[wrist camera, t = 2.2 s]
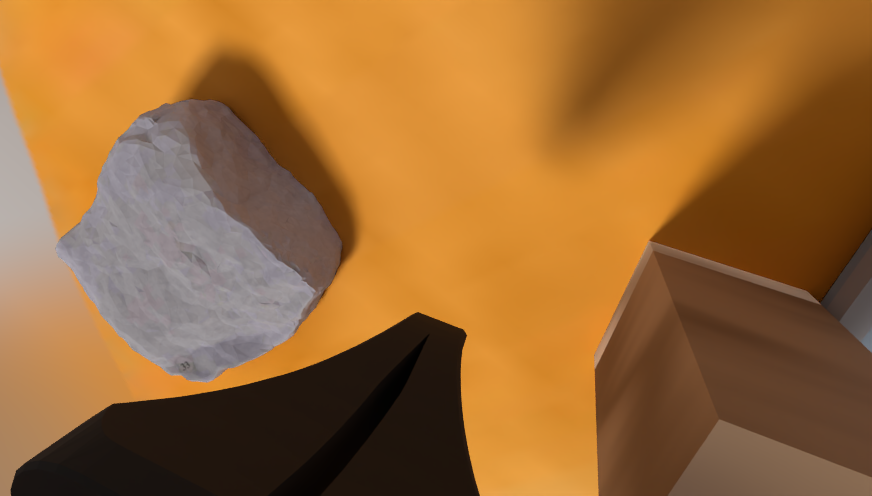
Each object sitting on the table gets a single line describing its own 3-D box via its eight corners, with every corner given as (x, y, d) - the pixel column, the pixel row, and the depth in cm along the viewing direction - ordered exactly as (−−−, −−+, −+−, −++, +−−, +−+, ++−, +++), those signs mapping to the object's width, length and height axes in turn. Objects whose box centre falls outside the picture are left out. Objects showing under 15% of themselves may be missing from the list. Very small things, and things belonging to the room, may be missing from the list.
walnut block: (729, 405, 16) (867, 718, 8) (594, 355, 17) (601, 592, 9) (806, 290, 14) (1088, 560, 6) (648, 240, 15) (719, 419, 7)
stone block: (384, 238, 21) (208, 69, 18) (347, 300, 17) (113, 94, 14) (254, 347, 26) (106, 230, 24) (203, 414, 22) (18, 281, 20)
